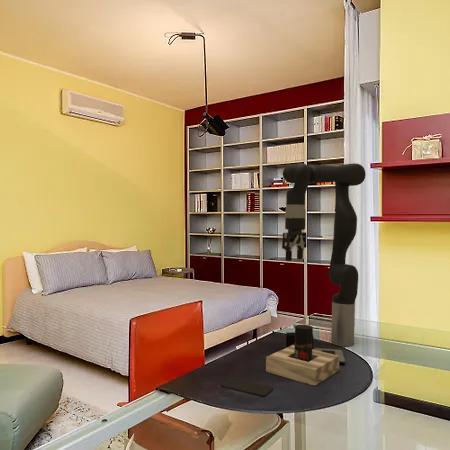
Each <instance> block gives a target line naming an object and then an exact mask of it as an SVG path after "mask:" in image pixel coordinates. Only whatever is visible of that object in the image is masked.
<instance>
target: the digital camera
mask: <svg viewBox="0 0 450 450" xmlns="http://www.w3.org/2000/svg"><path fill="white" fill-rule="evenodd" d="M314 340H315V339H314V336H313V341H312V350H314ZM292 345H295V331H294V332H293V331H292V332H289V331H288V332H286V335H285V348H287V347H290V346H292Z"/></svg>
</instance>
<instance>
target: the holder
mask: <svg viewBox="0 0 450 450" xmlns="http://www.w3.org/2000/svg"><path fill="white" fill-rule="evenodd" d="M294 350H295V345H292V346H290V347H287V348H286V347H285V348H284V349H280V350H278V351H277V352H274V353H272V354H270V355H267V356H266V357H265V372H266V373H269V374H272V375H275V376H280V377H283V378H286V379H290V380H294V381H296V382H300V383H303V384H306V383H307V385H310V386H313V385H314V386H313V387H315V385H316V386H317V385H319V384H321V383H322V382H323V381H325V380H327V379H328V378H329V377H331V376H332V375H335V374H336V373H337V372H339V371H340V363H339V356H338V355H334V354H329V353H325V352H321V351H317V350H314V349H313V350H312V360H311V361H309V362H306V361H302V360H298V359H294ZM321 381H322V382H321ZM318 383H319V384H318Z"/></svg>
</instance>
